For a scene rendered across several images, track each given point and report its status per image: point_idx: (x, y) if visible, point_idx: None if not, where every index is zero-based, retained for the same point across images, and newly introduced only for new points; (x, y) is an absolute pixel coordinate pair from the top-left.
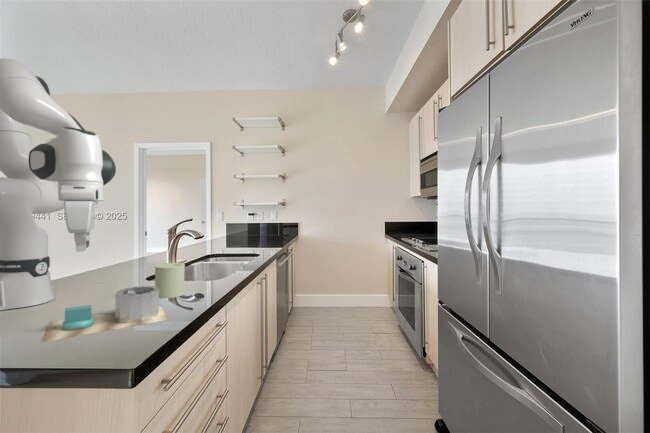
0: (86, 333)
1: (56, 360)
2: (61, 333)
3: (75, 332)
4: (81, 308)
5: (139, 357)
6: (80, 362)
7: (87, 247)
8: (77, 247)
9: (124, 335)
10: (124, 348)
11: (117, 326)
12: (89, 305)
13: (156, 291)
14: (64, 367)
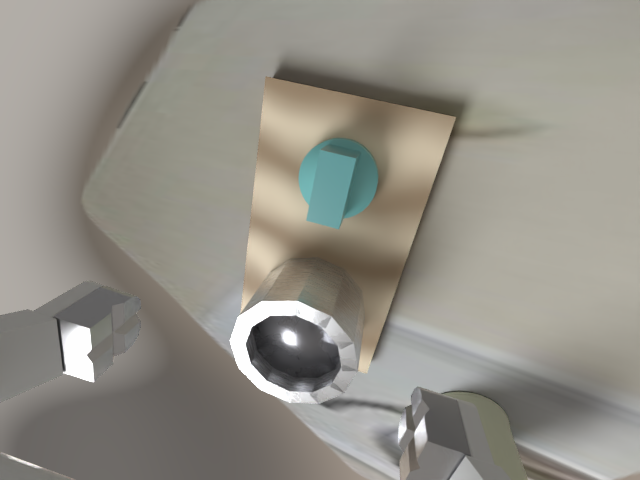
0: (259, 178)
1: (176, 100)
2: (302, 129)
3: (287, 159)
4: (315, 196)
5: (110, 224)
6: (140, 138)
7: (402, 416)
8: (64, 303)
9: (240, 243)
10: (166, 219)
11: (264, 245)
12: (335, 223)
13: (253, 380)
14: (132, 108)
